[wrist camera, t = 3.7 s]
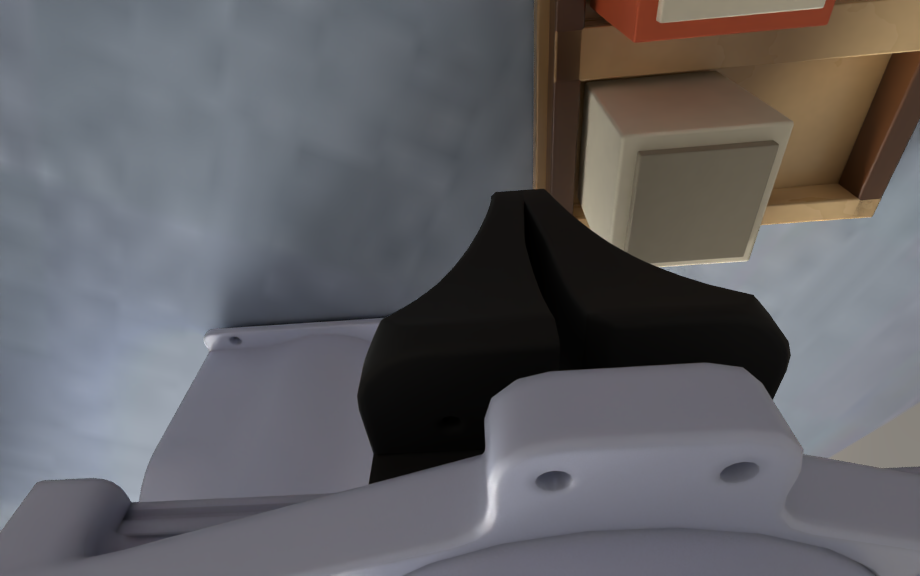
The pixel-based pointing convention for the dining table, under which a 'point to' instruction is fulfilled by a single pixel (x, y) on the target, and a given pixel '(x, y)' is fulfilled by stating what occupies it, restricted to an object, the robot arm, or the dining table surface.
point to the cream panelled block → (678, 166)
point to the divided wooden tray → (763, 75)
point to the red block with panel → (708, 16)
